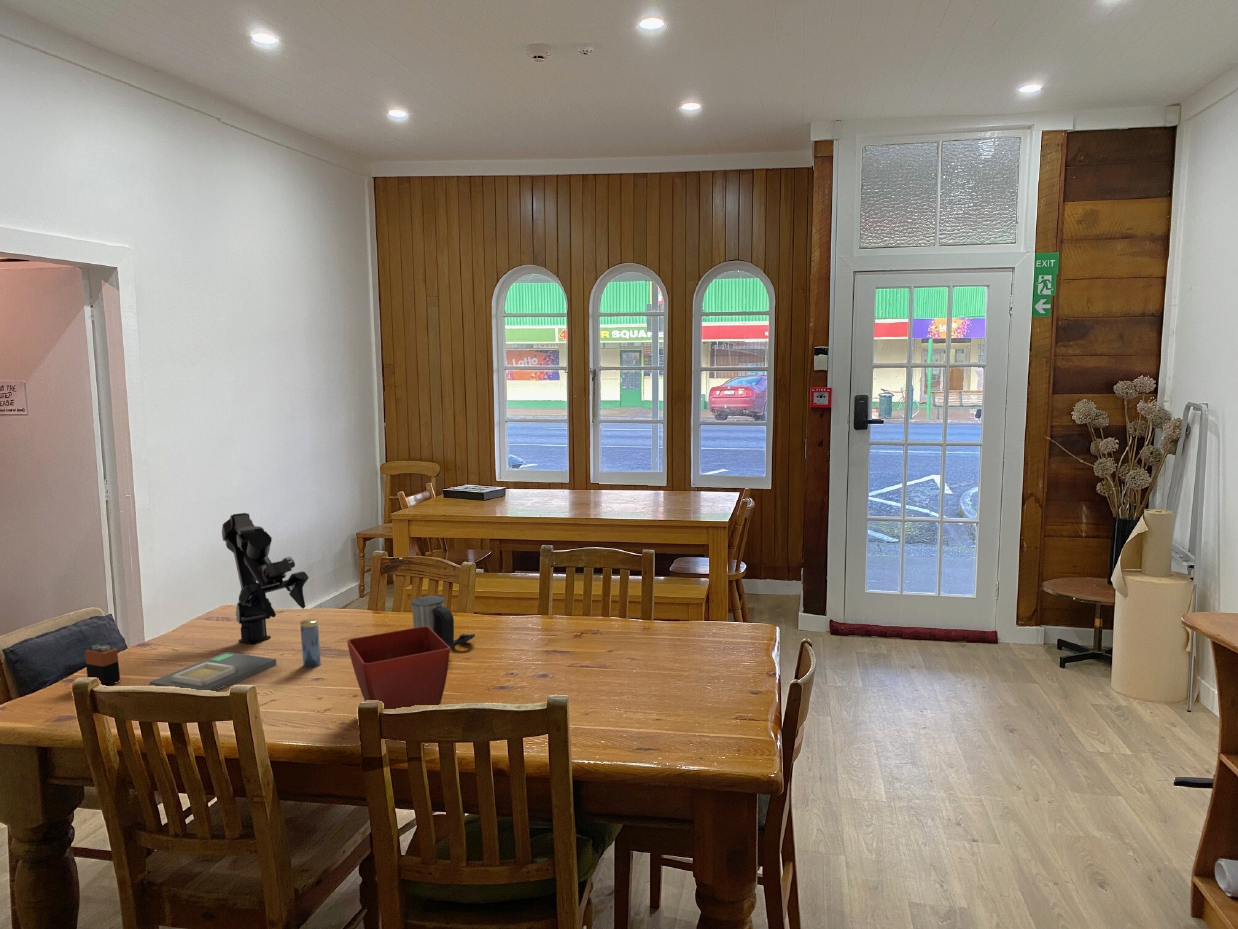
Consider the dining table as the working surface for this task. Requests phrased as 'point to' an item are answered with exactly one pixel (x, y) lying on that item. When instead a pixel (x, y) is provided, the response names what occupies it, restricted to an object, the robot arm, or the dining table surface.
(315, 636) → the cell
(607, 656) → the dining table surface
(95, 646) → the battery
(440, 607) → the milk frother
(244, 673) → the tester board
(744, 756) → the dining table surface
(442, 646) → the plant pot
